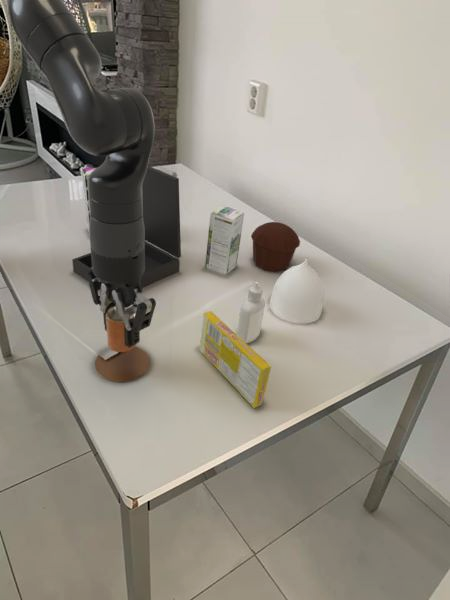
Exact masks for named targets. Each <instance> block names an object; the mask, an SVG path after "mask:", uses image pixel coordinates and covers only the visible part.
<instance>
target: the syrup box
mask: <svg viewBox="0 0 450 600" xmlns="http://www.w3.org/2000/svg"><path fill="white" fill-rule="evenodd" d="M209 215H210V216H209V225H208V233H207V234H208V235H207V244H206V254H205V263H204V264H205V265H204V268H205V269H208V270H210V271H214V272H217V273H220V274H222V275H225V276H226V275H228V274H229V273H230V272H231V271H232V270H235V269H236V268H237V265H238V258H239V252H240V246H241V245H240V244H241V237H242V231H243V224H244V218H245V212H244V211H241V210H239V209H238V208H234V207H231V206H227V205H220V207H218V208H217V209H216V210H214V211H212V212H211V213H209Z"/></svg>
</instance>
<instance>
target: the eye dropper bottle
mask: <svg viewBox="0 0 450 600" xmlns="http://www.w3.org/2000/svg"><path fill="white" fill-rule="evenodd" d="M262 295H263V288H262V287H260V282H258V281H254V283H253V285H251V286H250V287H248V294H247V297H246V298H245V299H244V301H243V302H242V304H241V306H240V310H239V315H238V316H239V317H238V323H237V330H236V335H237V336H238V337H240V338H241V339H242V340H243V341H244V342H245V343H246V344H247V345H248V344H249V343H252V342H254V341H255V340H257V339H258V337H259V336H260V333H261V329H262V323H263V319H264V318H263V317H264V313H265V308H266V300H265V298H263V297H262Z"/></svg>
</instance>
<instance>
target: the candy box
mask: <svg viewBox="0 0 450 600" xmlns="http://www.w3.org/2000/svg"><path fill="white" fill-rule="evenodd" d="M199 352H200V353H202V354H203V356H204V357H205V358H206V359H207V360H208V361H209V362H210V363H211V364H212V365H213V366H214V367H215V368H216V370H217V371H219V373H220V374H221V375H222V376H223V377H224V378H225V379H226V380H227V381H228V382H229V384H231V386H232V387H233V388H234V389H235V390H236V391H237V392H238V393H239V394H240V395H241V396H242V397H243V398H244V399H245V400H246V401H247V403H249V405H250V406H251V407H252V408H253V409H256V408H258V407H260V406H262V405H263V402H264V398H265V393H266V389H267V384H268V380H269V377H270V372H271V368H272V366H271V365H270V364H269V363H268V362H267V361H266V359H264V358H263V357H261V356H260V355H259V354H258V353H257V352H256V351H255V350H254V349H253V348H252V347H250V345H248V343H247V344H246V343H245V342H244V341H243V340H242V339H241V338H240V337H238V336H237V333H236V332H235V331H233V330H232V329H231V328H230V327H229V326H228V325H227V324H226V323H224V322H223V321H222V320H221V319H220V318H219V317H218V316H217V315H216V314H215V313H214V312H213V311H208V312H204V313H203V318H202V327H201V336H200V343H199Z"/></svg>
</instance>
